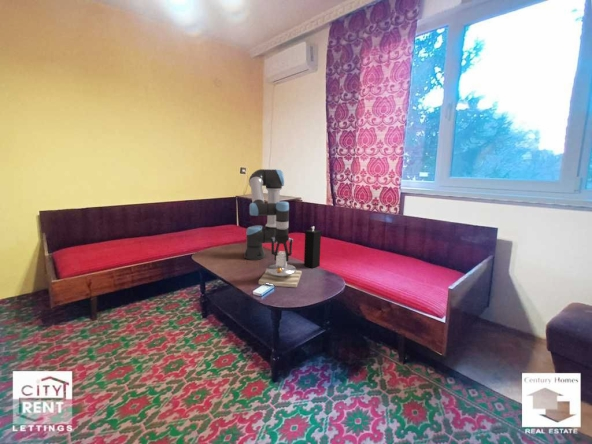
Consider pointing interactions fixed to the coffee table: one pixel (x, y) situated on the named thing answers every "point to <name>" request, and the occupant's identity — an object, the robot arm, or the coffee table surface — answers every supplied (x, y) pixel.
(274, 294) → the coffee table surface
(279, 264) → the handwheel
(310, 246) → the black pillar candle
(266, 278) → the base plate
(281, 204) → the robot arm
